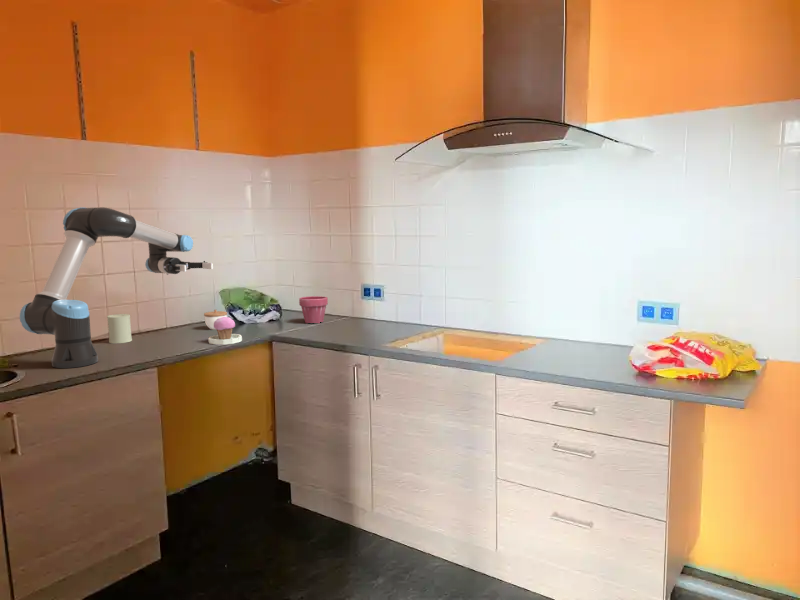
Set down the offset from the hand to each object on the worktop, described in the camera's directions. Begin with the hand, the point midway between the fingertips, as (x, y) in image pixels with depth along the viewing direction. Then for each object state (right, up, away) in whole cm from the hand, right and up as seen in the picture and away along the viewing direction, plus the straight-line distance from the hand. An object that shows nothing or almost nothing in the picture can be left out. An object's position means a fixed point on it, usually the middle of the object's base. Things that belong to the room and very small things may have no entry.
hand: (199, 267), depth 262 cm
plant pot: (+44, -26, +44) cm, 67 cm away
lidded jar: (-2, -28, +30) cm, 42 cm away
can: (-35, -33, +2) cm, 48 cm away
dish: (+12, -32, -2) cm, 34 cm away
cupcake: (+12, -32, -2) cm, 34 cm away
